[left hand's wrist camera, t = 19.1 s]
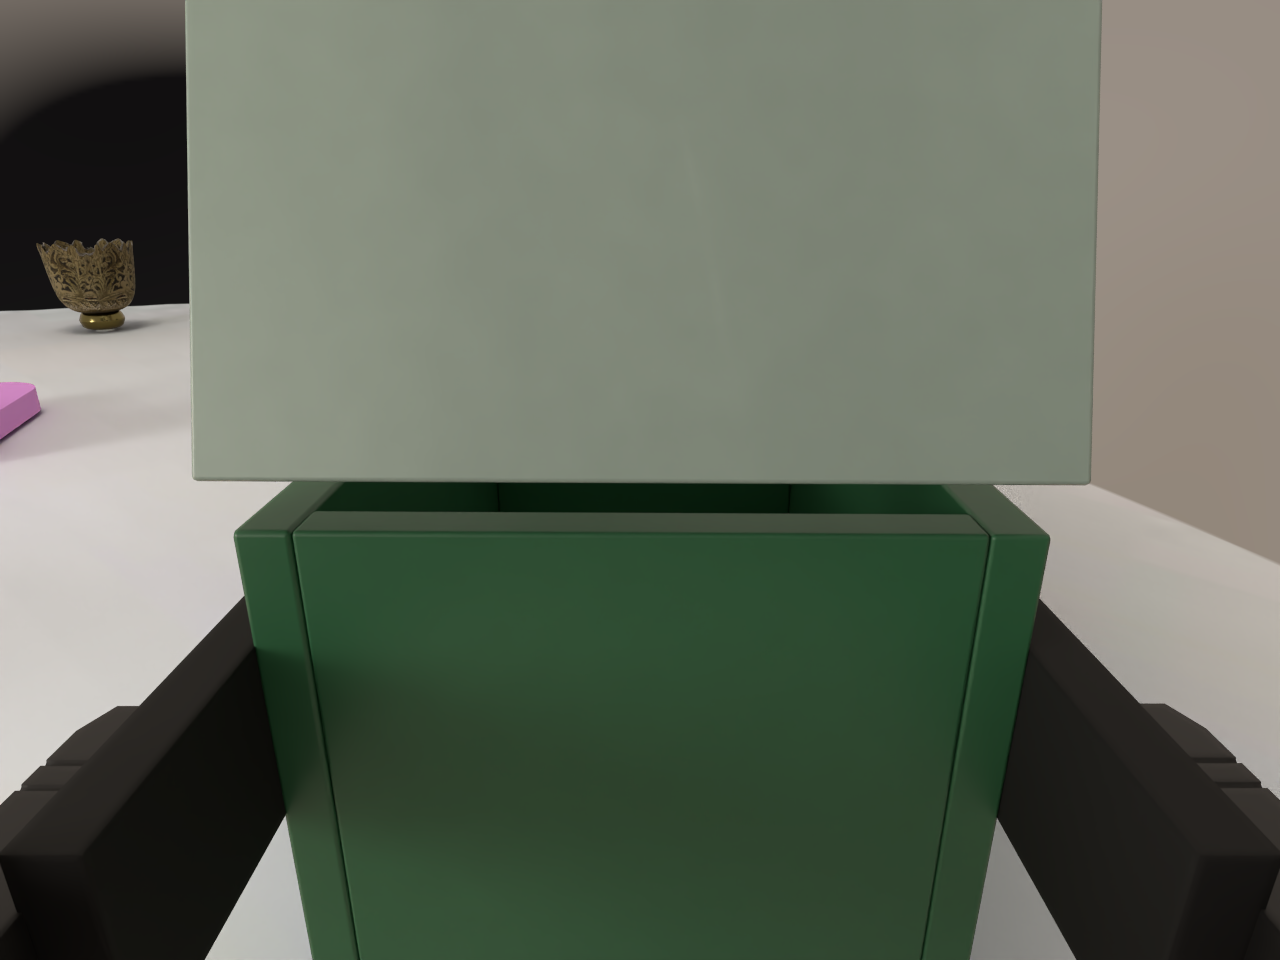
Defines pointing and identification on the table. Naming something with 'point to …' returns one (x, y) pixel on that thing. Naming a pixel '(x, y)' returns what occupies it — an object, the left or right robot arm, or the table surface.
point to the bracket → (16, 405)
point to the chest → (641, 714)
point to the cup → (92, 279)
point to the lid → (643, 240)
